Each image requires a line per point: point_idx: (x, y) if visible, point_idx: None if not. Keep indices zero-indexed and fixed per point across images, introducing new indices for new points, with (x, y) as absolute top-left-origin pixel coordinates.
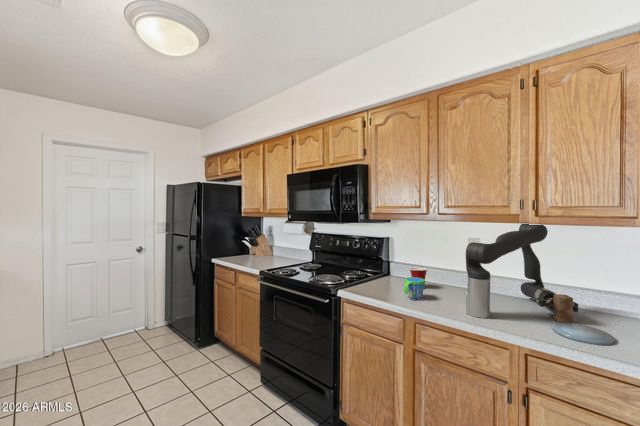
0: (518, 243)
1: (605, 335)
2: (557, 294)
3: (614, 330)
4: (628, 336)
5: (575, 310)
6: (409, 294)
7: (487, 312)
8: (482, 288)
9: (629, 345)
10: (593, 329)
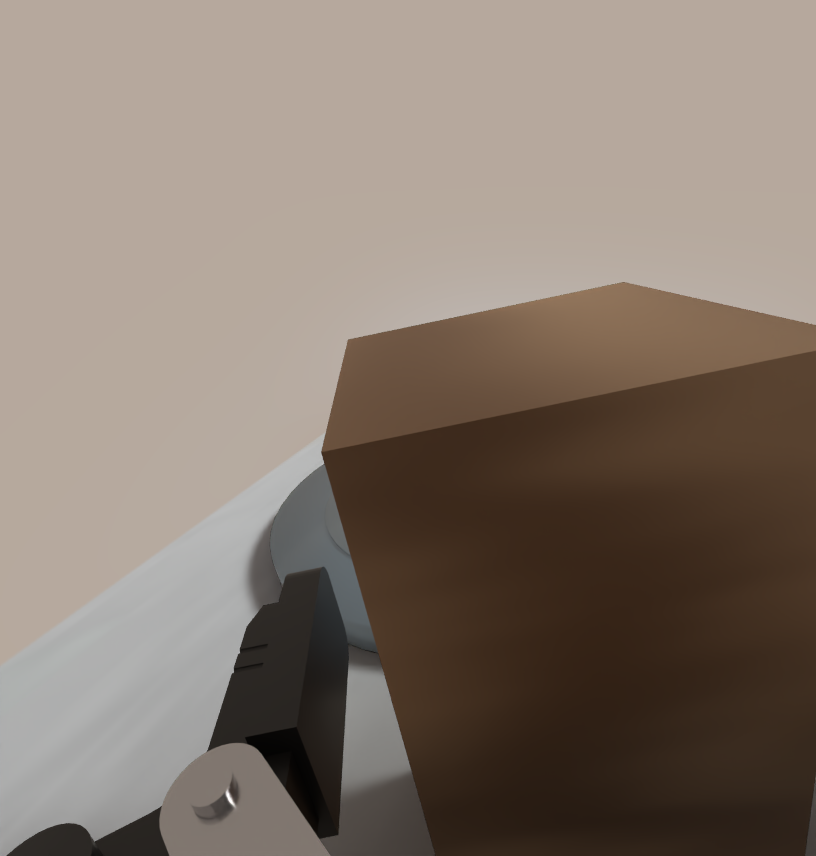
0: None
1: (328, 492)
2: (706, 371)
3: (51, 730)
4: (95, 619)
5: (341, 627)
6: None
7: None
8: None
9: (260, 491)
10: (345, 543)
